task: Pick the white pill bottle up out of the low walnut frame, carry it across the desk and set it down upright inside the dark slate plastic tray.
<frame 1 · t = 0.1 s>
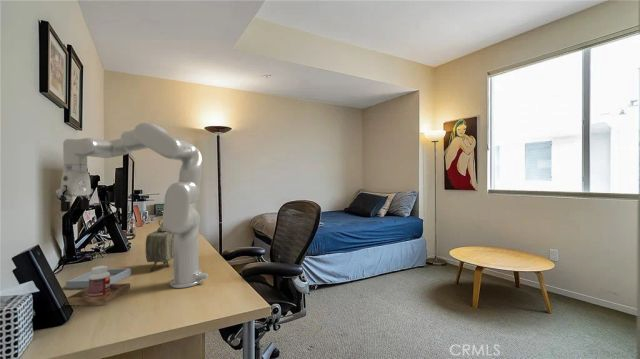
hand: (75, 210, 116), 31 cm above the table, tool pointing down, fingers open, 9 cm apart
walnut frame: (99, 297, 103), on the table
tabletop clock: (164, 267, 139), on the table
slate tray: (100, 281, 120), on the table
pill bottle: (99, 297, 103), resting in walnut frame
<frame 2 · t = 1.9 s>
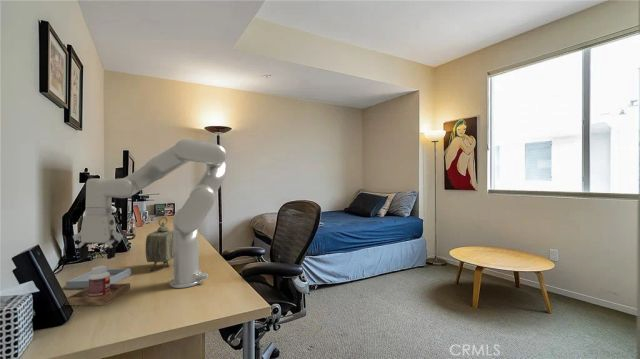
hand: (97, 258, 103), 15 cm above the table, tool pointing down, fingers open, 9 cm apart
nothing on the table moved.
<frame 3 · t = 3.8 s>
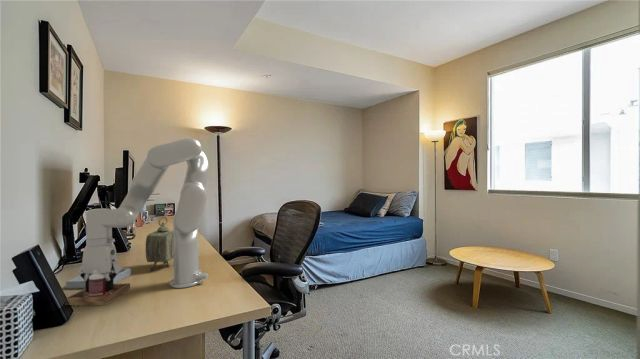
hand: (99, 290, 103), 3 cm above the table, tool pointing down, fingers closed on pill bottle, 6 cm apart
pill bottle: (99, 297, 103), resting in walnut frame, touching gripper
everything else where it was.
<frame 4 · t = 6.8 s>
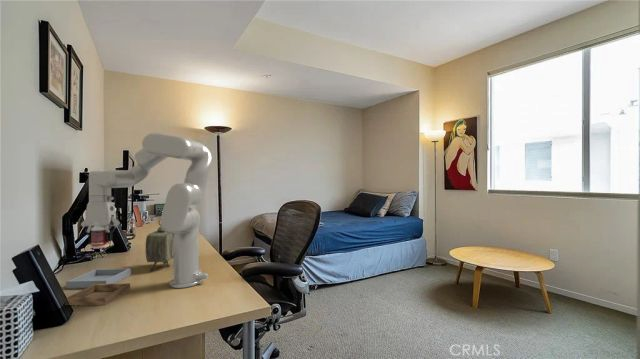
hand: (100, 241, 120), 17 cm above the table, tool pointing down, fingers closed on pill bottle, 6 cm apart
pill bottle: (100, 247, 120), point 15 cm above the table, touching gripper
everything else where it was.
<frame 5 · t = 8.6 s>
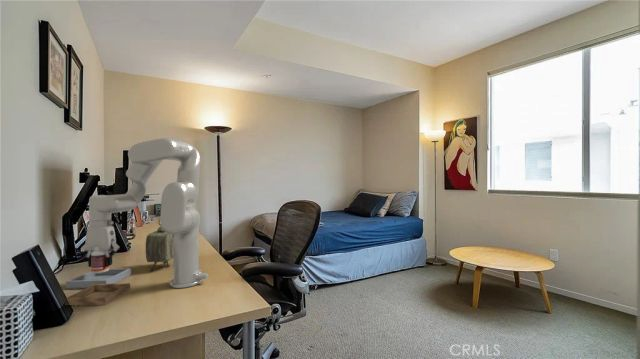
hand: (100, 265, 120), 7 cm above the table, tool pointing down, fingers closed on pill bottle, 6 cm apart
pill bottle: (100, 272, 120), point 4 cm above the table, touching gripper
everything else where it was.
when the fingers open (4 cm above the table, at t = 10.0 s): pill bottle drops 1 cm, resting on slate tray.
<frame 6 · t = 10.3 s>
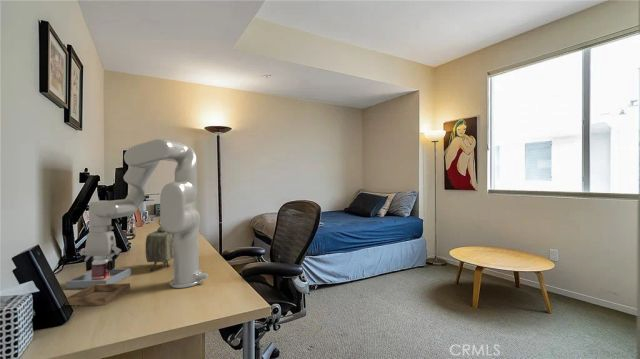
hand: (100, 269, 120), 5 cm above the table, tool pointing down, fingers open, 8 cm apart
pill bottle: (100, 280, 120), resting on slate tray
everything else where it was.
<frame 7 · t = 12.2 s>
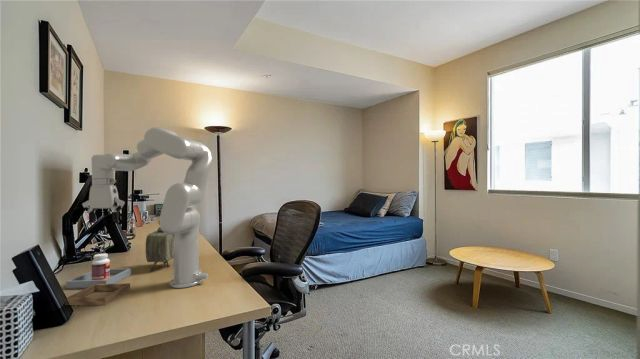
hand: (104, 221, 123), 25 cm above the table, tool pointing down, fingers open, 9 cm apart
nothing on the table moved.
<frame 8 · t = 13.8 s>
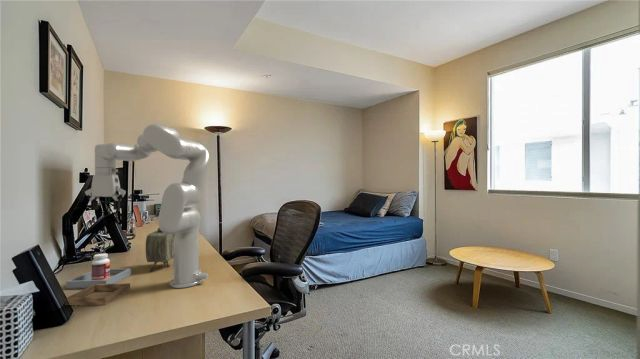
hand: (105, 209, 126), 30 cm above the table, tool pointing down, fingers open, 9 cm apart
nothing on the table moved.
at the end: pill bottle inside the target area on the slate tray (0.2 cm from its centre), point 0.3 cm above the slate tray's base; pill bottle tilted 0°; the gripper is holding nothing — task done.
